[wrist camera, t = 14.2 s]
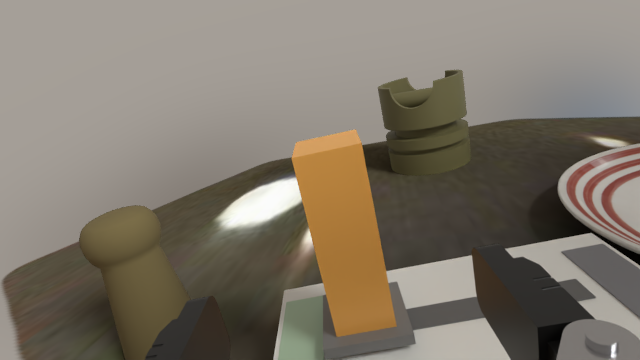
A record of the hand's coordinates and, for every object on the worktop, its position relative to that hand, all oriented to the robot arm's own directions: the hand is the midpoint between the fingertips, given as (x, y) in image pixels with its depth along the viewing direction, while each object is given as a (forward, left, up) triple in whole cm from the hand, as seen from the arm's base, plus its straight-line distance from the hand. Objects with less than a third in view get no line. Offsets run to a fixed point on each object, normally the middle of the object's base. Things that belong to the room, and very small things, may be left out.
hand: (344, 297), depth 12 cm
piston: (-44, -14, -11) cm, 48 cm away
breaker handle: (-6, -4, -7) cm, 10 cm away
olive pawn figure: (-3, -21, -11) cm, 24 cm away
